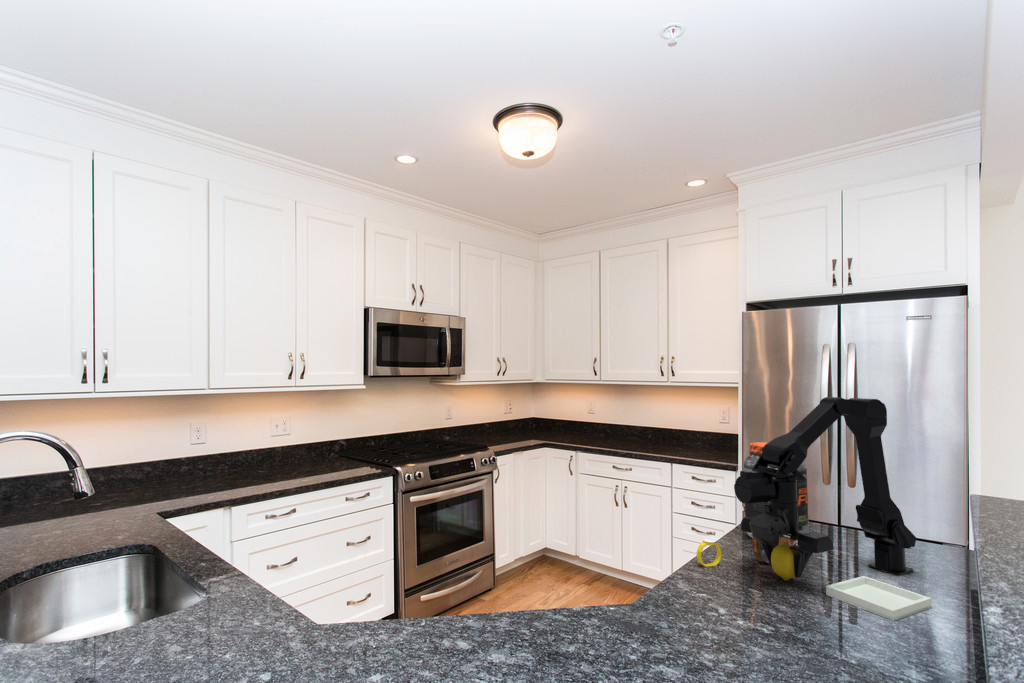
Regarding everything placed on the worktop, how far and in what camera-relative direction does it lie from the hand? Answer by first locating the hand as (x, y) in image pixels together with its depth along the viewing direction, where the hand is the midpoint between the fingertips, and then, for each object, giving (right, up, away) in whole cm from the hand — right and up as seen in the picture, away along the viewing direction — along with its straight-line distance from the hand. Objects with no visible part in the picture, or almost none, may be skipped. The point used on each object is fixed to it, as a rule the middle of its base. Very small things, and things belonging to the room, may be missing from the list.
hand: (785, 572), depth 114 cm
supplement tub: (+13, -4, +29) cm, 32 cm away
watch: (-13, -3, +9) cm, 16 cm away
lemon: (0, -2, 0) cm, 2 cm away
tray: (+13, -1, -11) cm, 17 cm away
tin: (+5, -3, +13) cm, 14 cm away
